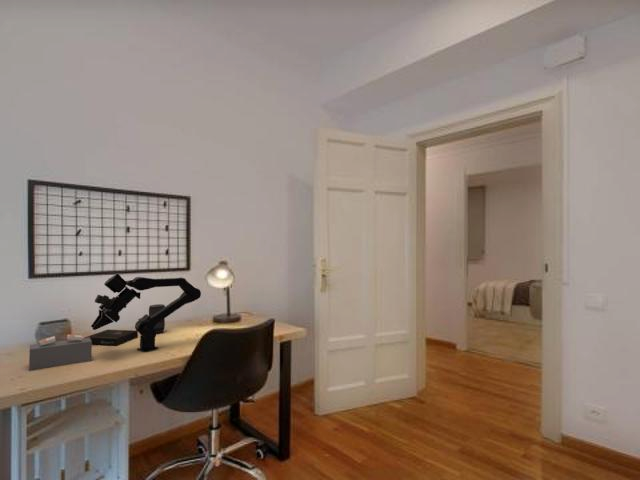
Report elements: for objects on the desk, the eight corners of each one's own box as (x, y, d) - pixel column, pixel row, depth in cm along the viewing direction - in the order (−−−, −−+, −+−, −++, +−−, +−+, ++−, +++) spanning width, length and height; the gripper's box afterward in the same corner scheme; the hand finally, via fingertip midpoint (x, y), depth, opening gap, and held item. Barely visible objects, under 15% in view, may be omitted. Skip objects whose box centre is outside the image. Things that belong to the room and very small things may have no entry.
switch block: (89, 356, 155) (89, 337, 155) (91, 360, 148) (91, 341, 148) (29, 365, 142) (29, 344, 142) (29, 370, 136) (29, 349, 136)
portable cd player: (138, 338, 187) (138, 330, 187) (116, 347, 170) (116, 338, 170) (108, 336, 189) (108, 329, 189) (83, 345, 172) (84, 337, 172)
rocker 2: (81, 338, 151) (82, 335, 151) (82, 340, 148) (83, 337, 148) (67, 337, 148) (68, 334, 148) (67, 339, 145) (68, 335, 145)
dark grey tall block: (146, 332, 196) (146, 305, 197) (161, 330, 202) (161, 303, 202) (151, 335, 191) (152, 307, 191) (167, 333, 196) (167, 305, 197)
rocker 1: (55, 338, 146) (54, 335, 146) (55, 340, 143) (55, 337, 142) (40, 343, 143) (39, 340, 143) (40, 345, 140) (39, 342, 139)
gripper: (104, 285, 163) (74, 312, 156) (111, 290, 148) (78, 320, 141) (123, 301, 168) (95, 328, 161) (132, 307, 153) (101, 337, 146)
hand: (92, 328), depth 152 cm, fingers open, 5 cm apart
